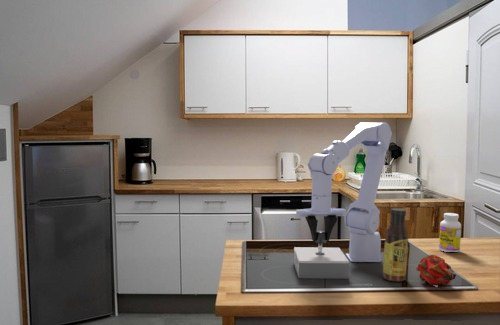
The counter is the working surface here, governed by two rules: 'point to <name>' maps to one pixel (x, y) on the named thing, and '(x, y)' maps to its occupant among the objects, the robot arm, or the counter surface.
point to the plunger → (320, 240)
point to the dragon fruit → (435, 270)
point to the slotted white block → (321, 263)
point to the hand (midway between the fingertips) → (320, 240)
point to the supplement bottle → (450, 233)
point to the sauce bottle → (396, 247)
